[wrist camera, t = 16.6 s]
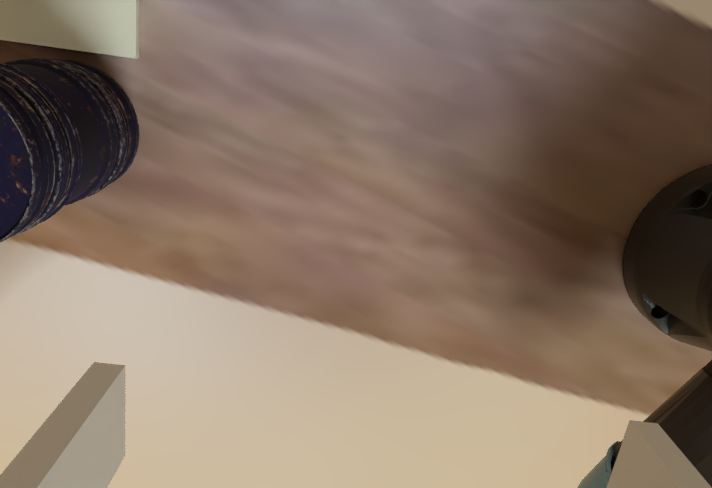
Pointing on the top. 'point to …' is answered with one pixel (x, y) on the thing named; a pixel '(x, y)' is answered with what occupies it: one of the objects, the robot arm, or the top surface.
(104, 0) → the coaster
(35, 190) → the dark blue canister
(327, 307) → the top surface
